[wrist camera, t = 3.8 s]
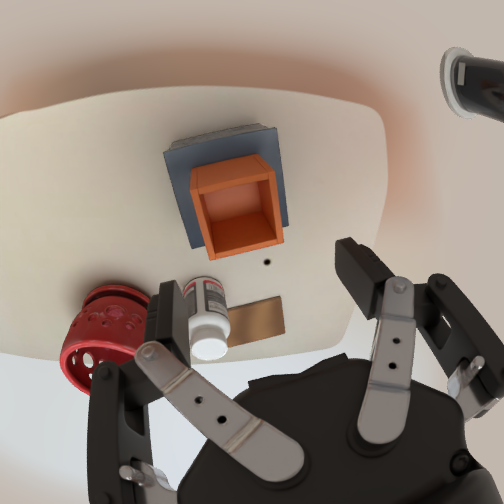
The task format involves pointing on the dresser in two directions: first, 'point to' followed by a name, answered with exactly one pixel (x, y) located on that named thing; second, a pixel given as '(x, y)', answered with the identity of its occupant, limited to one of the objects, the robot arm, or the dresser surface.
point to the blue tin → (215, 150)
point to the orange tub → (236, 205)
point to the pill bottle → (207, 318)
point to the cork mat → (255, 321)
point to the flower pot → (104, 332)
